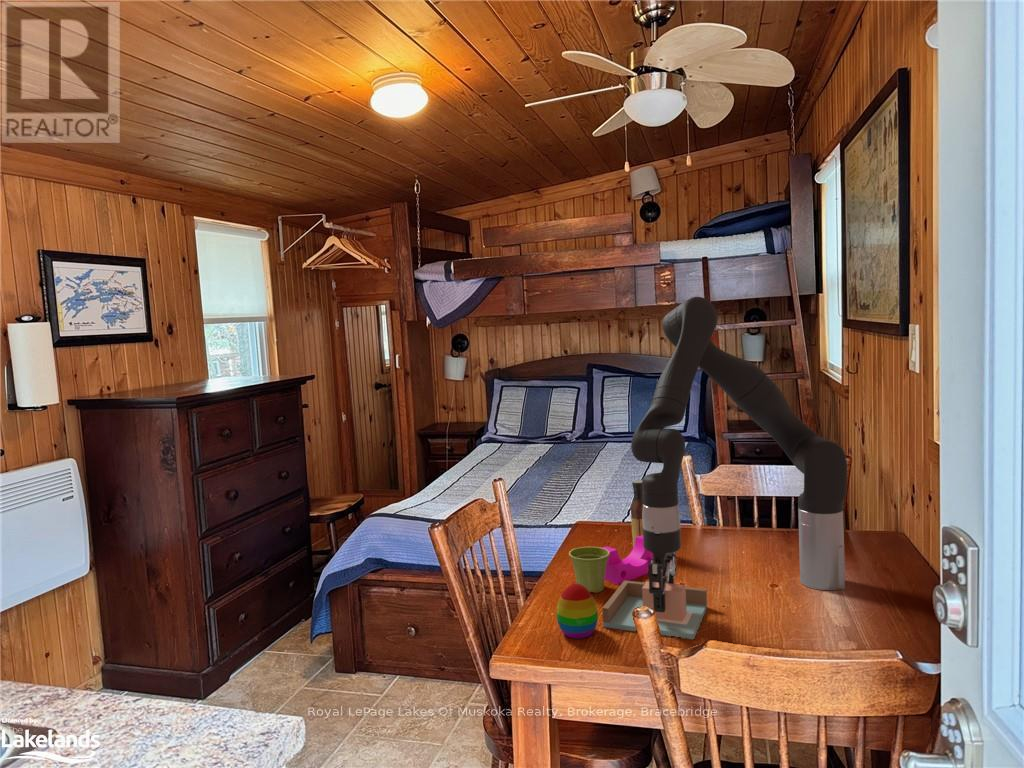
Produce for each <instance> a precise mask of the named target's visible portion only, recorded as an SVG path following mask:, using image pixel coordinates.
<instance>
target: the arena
mask: <svg viewBox="0 0 1024 768" xmlns="http://www.w3.org/2000/svg"><path fill="white" fill-rule="evenodd" d="M645 583H646V582H643V581H635V580H634V581H633V580H629V581H625V580H624V581H623V583H621V584H619V586H618V587H617V589H616V590H615V592H614V593H613V594H612V595H611V596H610V598H609V599H608V601H606V603H605V604H603V606H602V609H601V610H602V625H603V628H606V629H615V630H622V631H630V632H636V628H635V624H634V620H633V616H632V612H633V610H634V609H635V608H637V607H640V606H643V598H642V587H643V586H644V584H645ZM685 587H686V613H687V614H686V616H685V618H684V620H683V621H676V620H668V619H660V618H656V619H657V622H658V625H659V628H660V632H661V635H660V636H664V637H665V635H666V637H671V636H675V637H674V638H678V637H681V639H686V638H687V639H686V640H693V639H695V637H696V636H697V633H698V631H699V628H700V626H701V624H700V623H702V621H703V619H704V617H703V616H705V615H706V612H707V610H706V609H708V591H707V590H708V589H707V588H698V587H688V586H685ZM702 618H703V619H702ZM697 630H698V631H697ZM636 633H637V632H636Z"/></svg>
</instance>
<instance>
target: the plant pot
mask: <svg viewBox="0 0 1024 768" xmlns="http://www.w3.org/2000/svg"><path fill="white" fill-rule="evenodd" d="M609 555H610V552H609V551H608V550H606V549H604V548H602V547H599V546H581V547H576V548H572V549H571V550H570V551H569V552H568V556H569V557H570V559H571V562H572V564H573V570H574V576H575V582H576V583H577V584H581V585H583V586H584V587H585V588H587V589H588V591H589V592H590V593H596V594H597V593H600V592H603V590H604V588H605V581H606V580H605V571H606V563H607V560H608V556H609Z"/></svg>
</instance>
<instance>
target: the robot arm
mask: <svg viewBox="0 0 1024 768" xmlns="http://www.w3.org/2000/svg"><path fill="white" fill-rule="evenodd" d="M661 325H662V329H663V332H664V335H665V336H666V338H667V339H668V341H669V342H670V344H672V345H673V346H674V347H675V350H674V352H673V353H672V355H671V357H670V359H668V362H667V364H666V366H665V367H664V369H663V371H662V373H661V375H660V377H659V378H658V381H657V383H656V386H655V389H654V393H653V397H652V401H651V404H650V406H649V409H647V412H646V413H645V415H644V416H643V418H642V420H641V421H640V422H639V424H638V426H637V427H636V428H635V430H634V432H633V435H632V439H631V442H630V443H631V444H630V447H631V452H632V455H633V456H634V458H635V459H636V461H639V462H642V463H653V464H663V467H662V470H661V471H660V472H654V473H649V474H646V475H645V476H644V477H643V478H642V479H641V480H642V495H643V511H642V523H643V546H644V548H645V549H646V550H647V551H650V552H652V553H653V555H654V556H653V559H651V563H649V565H648V567H649V568H648V581H649V593H651V594H653V601H654V610H655V611H656V612H665V610H666V606H665V587H666V584H667V583H670V584H675V577H676V572H677V570H678V569H677V568H678V567H677V552H678V551H680V550H681V548H682V537H681V535H682V534H681V514H680V508H679V493H678V492H679V491H678V489H679V488H678V485H679V483H678V482H679V478H680V477H679V476H680V471H681V467H682V463H683V460H684V457H685V451H686V440H685V437H684V435H683V434H682V433H681V432H680V431H679V430H678V429H676V428H668V427H671V426H672V427H673V426H676V425H678V424H681V422H682V421H683V419H684V417H685V413H686V410H687V405H688V401H689V398H690V393H691V389H692V386H693V383H694V380H695V378H696V374H697V371H698V370H699V368H700V369H701V370H702V371H703V373H705V374H706V375H707V376H709V378H710V379H711V380H712V381H713V382H715V383H716V385H717V386H718V387H720V389H722V391H723V392H724V393H725V394H726V395H727V396H728V397H729V398H730V399H731V400H732V401H733V402H734V404H735V405H736V406H737V407H738V408H739V409H740V410H741V411H743V412H744V414H746V415H747V417H749V418H750V419H751V420H752V421H753V422H754V423H755V424H756V425H757V426H758V427H760V428H761V429H762V430H763V431H765V432H766V433H767V435H769V436H771V438H772V439H773V440H774V441H775V442H776V443H777V444H778V446H779V447H780V448H781V449H782V452H784V453H785V455H786V456H787V457H788V458H789V460H790V461H791V463H792V465H794V466H795V468H796V469H797V470H798V471H800V473H802V474H803V491H802V493H800V494H799V495H798V498H797V499H798V500H797V503H798V507H797V508H798V510H797V511H798V514H797V515H798V516H797V517H798V542H799V543H798V545H799V547H798V548H799V550H798V551H799V552H798V553H799V581H800V584H802V585H803V586H805V587H806V588H810V589H815V590H820V591H836V590H844V591H845V590H846V575H845V574H846V573H845V572H846V571H845V568H846V567H845V542H844V541H845V539H844V538H845V537H844V536H845V535H844V533H845V532H844V531H845V530H844V503H845V500H846V498H847V490H848V489H847V487H848V485H847V483H848V461H847V456H846V453H845V451H844V448H842V446H841V445H839V444H838V443H837V442H834V441H833V440H830V439H826V438H824V437H821V436H820V435H819V434H817V433H816V432H814V431H813V430H812V429H811V428H810V427H809V426H808V425H807V424H805V423H804V422H803V421H802V420H801V419H800V418H799V417H798V416H797V414H796V413H795V412H794V411H793V409H792V407H791V405H790V403H789V401H788V400H787V398H786V396H785V395H784V393H783V391H782V390H781V389H780V387H779V386H778V385H777V383H775V382H774V381H773V380H772V379H771V378H770V376H768V375H767V374H766V373H765V372H764V370H762V369H761V368H760V367H759V366H757V365H756V364H754V363H752V362H751V361H748V360H745V359H743V358H741V357H738V356H736V355H733V354H730V353H728V352H726V351H725V350H723V349H722V348H720V347H718V346H717V345H716V344H715V343H714V342H713V341H711V338H712V336H713V334H714V333H715V330H716V328H717V325H718V313H717V310H716V308H715V306H714V305H713V303H712V302H710V300H708V299H706V298H705V297H701V296H693V297H690V298H687V299H686V300H684V301H683V302H681V303H680V304H678V306H676V307H675V308H673V309H672V310H671V311H669V312H668V313H667V314H666V315H664V316H663V319H662V324H661ZM657 582H658V583H659V588H658V587H656V583H657Z"/></svg>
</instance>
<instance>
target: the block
mask: <svg viewBox="0 0 1024 768" xmlns="http://www.w3.org/2000/svg"><path fill="white" fill-rule="evenodd" d="M644 583H645V584H644V586H643V587H642V598H643V606H647V607H651V608H653V609H654V601H653V594H651V593H649V580H646V581H645V582H644ZM656 587H658V588H659V583H658V582H657V583H656ZM686 587H687V586H686V585H685V584H679V583H674V584H670V583H667V584H666V587H665V606H666V610H665V612H656V611H655V613H656V618H660V619H668V620H676V621H683V620H684V618H685V616H686V614H687V613H686Z"/></svg>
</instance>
